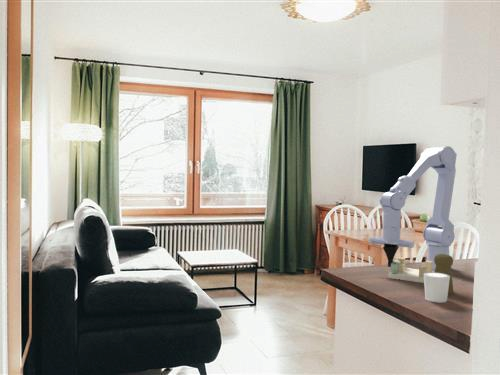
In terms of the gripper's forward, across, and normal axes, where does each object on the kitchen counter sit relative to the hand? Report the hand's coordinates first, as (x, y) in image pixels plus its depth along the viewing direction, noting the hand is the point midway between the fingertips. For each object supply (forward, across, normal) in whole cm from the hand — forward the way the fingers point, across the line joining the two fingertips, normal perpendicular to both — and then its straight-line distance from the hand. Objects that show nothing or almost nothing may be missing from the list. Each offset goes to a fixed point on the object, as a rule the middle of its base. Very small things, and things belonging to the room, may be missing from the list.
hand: (390, 266), depth 156 cm
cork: (+3, +19, -13) cm, 23 cm away
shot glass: (+3, +19, -23) cm, 30 cm away
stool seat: (+3, +7, 0) cm, 8 cm away
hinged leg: (+1, +2, -1) cm, 3 cm away
